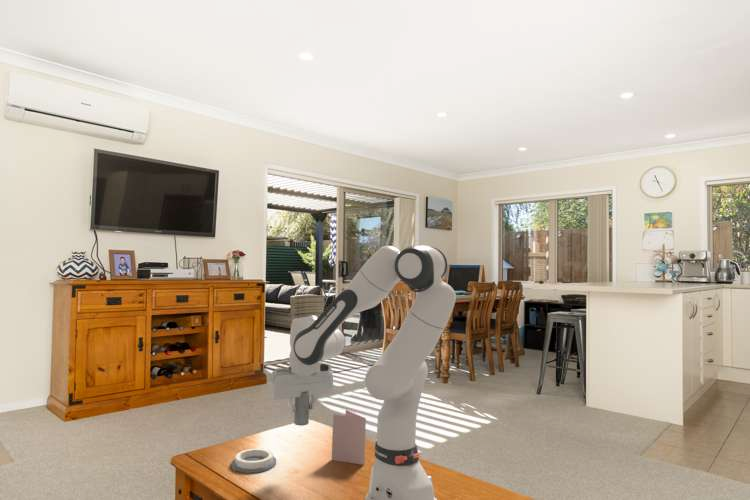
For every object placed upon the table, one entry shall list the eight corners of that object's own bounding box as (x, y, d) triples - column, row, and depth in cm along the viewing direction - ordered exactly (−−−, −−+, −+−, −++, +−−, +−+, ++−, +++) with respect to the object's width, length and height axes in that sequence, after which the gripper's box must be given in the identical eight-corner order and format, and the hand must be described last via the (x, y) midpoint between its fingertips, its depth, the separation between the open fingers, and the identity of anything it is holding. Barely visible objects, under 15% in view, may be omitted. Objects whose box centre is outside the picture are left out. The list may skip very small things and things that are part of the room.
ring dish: (282, 468, 152) (282, 459, 153) (238, 476, 145) (238, 467, 145) (268, 452, 164) (268, 444, 164) (226, 460, 157) (226, 451, 157)
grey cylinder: (305, 426, 149) (306, 392, 149) (291, 425, 150) (293, 391, 150) (310, 421, 153) (311, 389, 154) (297, 420, 154) (298, 388, 155)
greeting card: (366, 464, 158) (367, 417, 158) (347, 469, 153) (349, 421, 154) (346, 453, 167) (347, 409, 167) (328, 457, 162) (329, 412, 163)
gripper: (275, 370, 144) (273, 417, 144) (336, 365, 155) (334, 408, 154) (268, 366, 150) (266, 411, 149) (327, 361, 160) (326, 403, 160)
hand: (301, 410), depth 152 cm, fingers closed on grey cylinder, 5 cm apart
